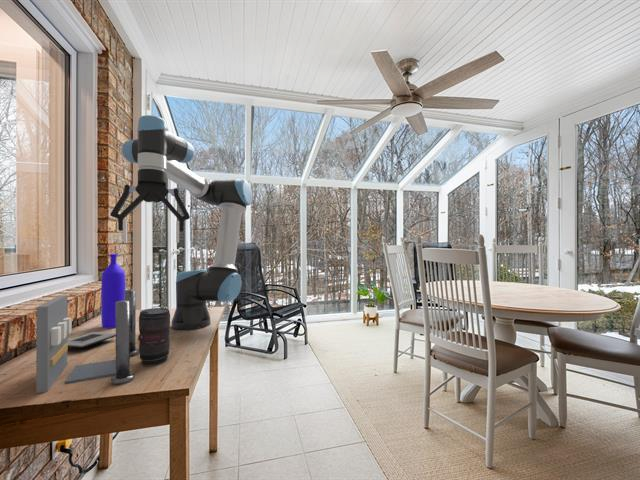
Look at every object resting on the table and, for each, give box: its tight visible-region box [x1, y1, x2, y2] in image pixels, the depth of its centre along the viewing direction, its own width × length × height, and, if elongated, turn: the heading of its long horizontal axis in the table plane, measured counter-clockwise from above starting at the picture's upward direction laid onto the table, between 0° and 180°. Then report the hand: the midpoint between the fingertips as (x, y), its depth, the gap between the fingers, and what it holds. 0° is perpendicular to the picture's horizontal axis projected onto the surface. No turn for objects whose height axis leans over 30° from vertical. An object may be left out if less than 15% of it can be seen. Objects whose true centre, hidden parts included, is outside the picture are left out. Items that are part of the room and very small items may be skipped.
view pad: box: [64, 359, 116, 385], centre depth 82 cm, size 11×11×1 cm
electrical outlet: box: [67, 331, 116, 350], centre depth 103 cm, size 13×10×2 cm
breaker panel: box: [35, 294, 73, 394], centre depth 78 cm, size 3×17×20 cm, turn 28°
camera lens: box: [137, 307, 171, 367], centre depth 89 cm, size 8×8×15 cm
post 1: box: [110, 300, 135, 386], centre depth 77 cm, size 5×5×20 cm
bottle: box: [100, 253, 126, 329], centre depth 127 cm, size 8×8×30 cm
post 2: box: [124, 289, 140, 358], centre depth 94 cm, size 5×5×20 cm
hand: (152, 242), depth 89 cm, fingers open, 13 cm apart
